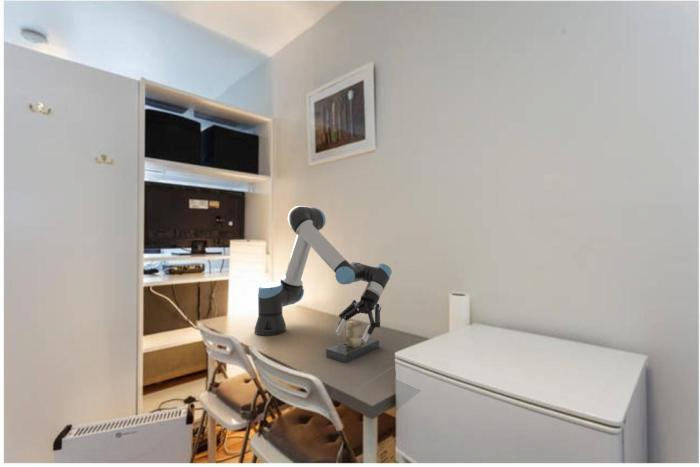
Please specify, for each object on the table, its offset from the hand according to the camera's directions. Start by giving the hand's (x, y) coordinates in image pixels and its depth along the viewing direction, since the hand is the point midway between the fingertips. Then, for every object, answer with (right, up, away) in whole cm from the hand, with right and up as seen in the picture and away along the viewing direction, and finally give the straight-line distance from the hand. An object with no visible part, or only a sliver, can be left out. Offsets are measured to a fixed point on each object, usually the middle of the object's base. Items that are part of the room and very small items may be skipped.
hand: (350, 337), depth 127 cm
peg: (+1, -6, +2) cm, 7 cm away
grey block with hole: (+1, -6, +2) cm, 7 cm away
